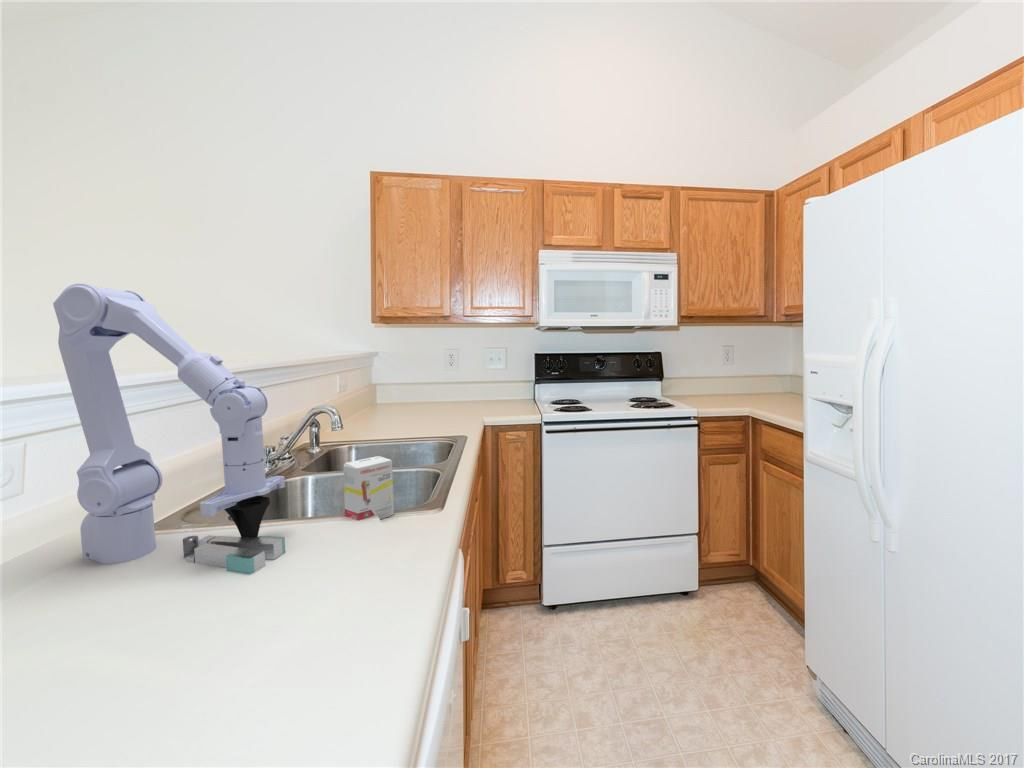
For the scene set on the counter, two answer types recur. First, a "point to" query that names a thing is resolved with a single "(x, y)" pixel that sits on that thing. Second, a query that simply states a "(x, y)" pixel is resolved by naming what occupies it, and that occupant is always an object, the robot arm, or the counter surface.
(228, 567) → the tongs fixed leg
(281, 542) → the bar
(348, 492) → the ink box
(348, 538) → the counter surface
